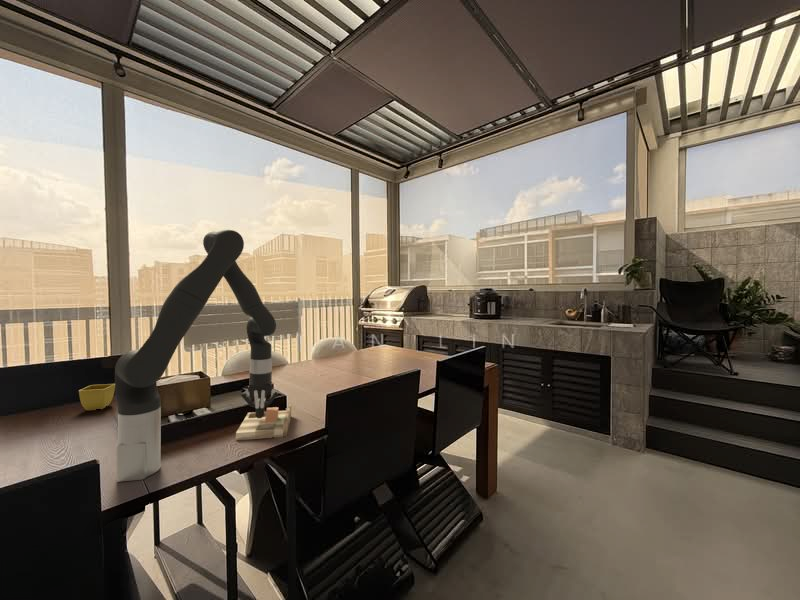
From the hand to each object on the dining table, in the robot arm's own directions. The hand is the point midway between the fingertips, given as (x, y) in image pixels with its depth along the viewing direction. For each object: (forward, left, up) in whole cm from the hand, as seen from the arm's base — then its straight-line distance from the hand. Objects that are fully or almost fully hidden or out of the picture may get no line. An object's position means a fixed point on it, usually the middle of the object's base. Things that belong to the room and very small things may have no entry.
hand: (260, 417), depth 122 cm
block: (0, -4, -1) cm, 4 cm away
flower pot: (+32, +68, -4) cm, 76 cm away
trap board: (0, -2, -4) cm, 4 cm away
